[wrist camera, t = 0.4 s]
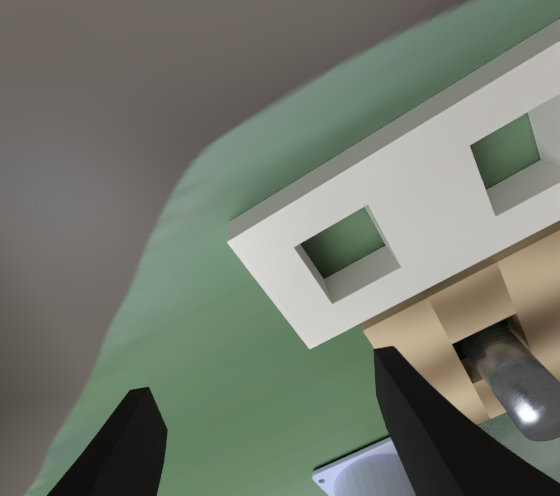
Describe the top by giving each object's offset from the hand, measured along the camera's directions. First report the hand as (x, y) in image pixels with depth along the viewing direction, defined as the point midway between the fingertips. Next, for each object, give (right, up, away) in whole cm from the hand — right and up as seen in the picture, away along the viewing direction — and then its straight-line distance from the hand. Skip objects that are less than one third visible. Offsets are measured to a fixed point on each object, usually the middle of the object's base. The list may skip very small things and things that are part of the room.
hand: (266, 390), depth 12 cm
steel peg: (+13, -1, +13) cm, 18 cm away
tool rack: (+8, +7, +8) cm, 13 cm away
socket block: (+13, -1, +13) cm, 18 cm away
